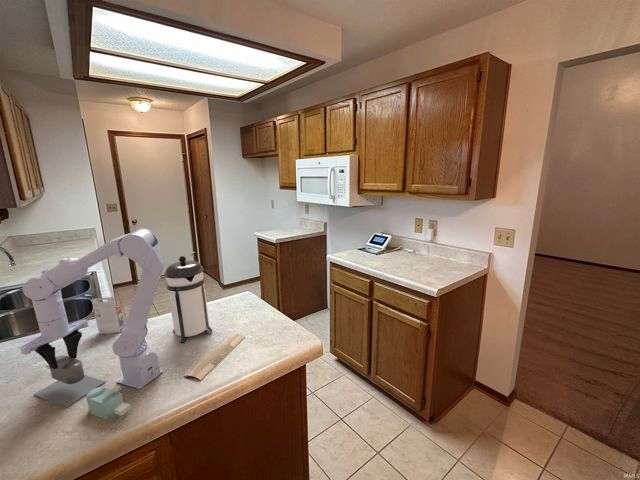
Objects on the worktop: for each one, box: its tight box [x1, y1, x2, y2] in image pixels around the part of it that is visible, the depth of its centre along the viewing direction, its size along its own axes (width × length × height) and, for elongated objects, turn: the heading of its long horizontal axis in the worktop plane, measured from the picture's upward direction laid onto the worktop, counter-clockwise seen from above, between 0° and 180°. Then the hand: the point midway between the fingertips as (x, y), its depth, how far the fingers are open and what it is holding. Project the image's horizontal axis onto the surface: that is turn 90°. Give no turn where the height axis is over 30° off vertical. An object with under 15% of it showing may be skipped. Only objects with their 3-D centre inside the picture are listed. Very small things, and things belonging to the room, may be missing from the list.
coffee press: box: [163, 255, 213, 344], centre depth 109 cm, size 17×16×30 cm
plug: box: [44, 355, 86, 384], centre depth 82 cm, size 12×4×4 cm, turn 70°
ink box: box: [91, 296, 125, 335], centre depth 113 cm, size 4×8×15 cm, turn 96°
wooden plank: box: [183, 333, 246, 381], centre depth 97 cm, size 24×7×2 cm, turn 162°
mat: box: [33, 374, 106, 409], centre depth 84 cm, size 14×10×1 cm
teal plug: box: [85, 386, 131, 421], centre depth 75 cm, size 12×4×4 cm, turn 70°
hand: (63, 362), depth 82 cm, fingers closed on plug, 4 cm apart
